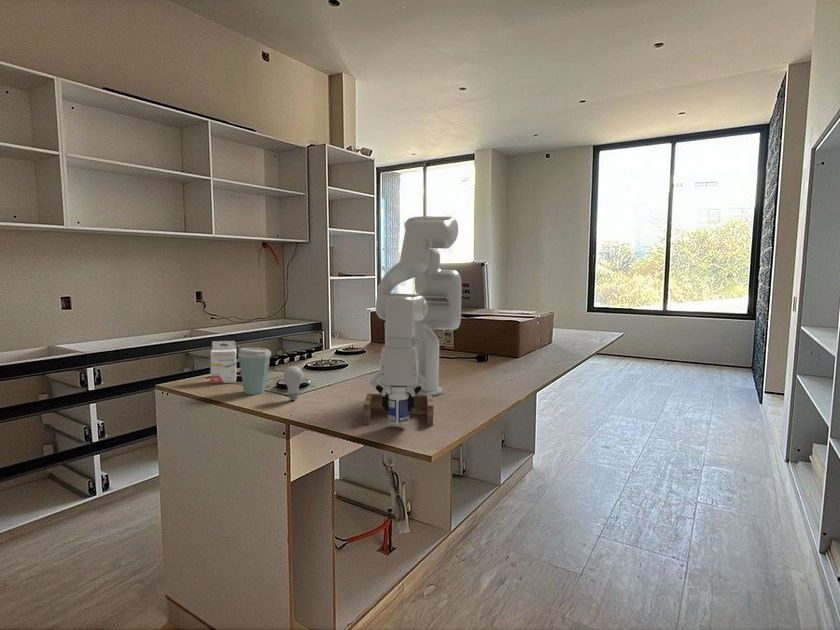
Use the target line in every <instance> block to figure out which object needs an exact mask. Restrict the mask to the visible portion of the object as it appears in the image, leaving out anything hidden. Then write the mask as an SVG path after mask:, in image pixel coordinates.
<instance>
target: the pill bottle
mask: <svg viewBox="0 0 840 630" xmlns="http://www.w3.org/2000/svg"><path fill="white" fill-rule="evenodd" d="M407 387H408V386H389V391H390V393H388V394H389V395H388V414H387V422H388V423H389V425H393V426H394V425H395V426H403V425H407V424H408V423H409V421H410V414H409V395H408V394H409V393H408V392H407Z"/></svg>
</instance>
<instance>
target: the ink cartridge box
mask: <svg viewBox="0 0 840 630" xmlns="http://www.w3.org/2000/svg"><path fill="white" fill-rule="evenodd" d="M223 344H224V345H223ZM236 382H237V349H236V341H235V340H218V341H215V340H213V341H212V342H211V350H210V384H211V385H212V384H234V383H236Z"/></svg>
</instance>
